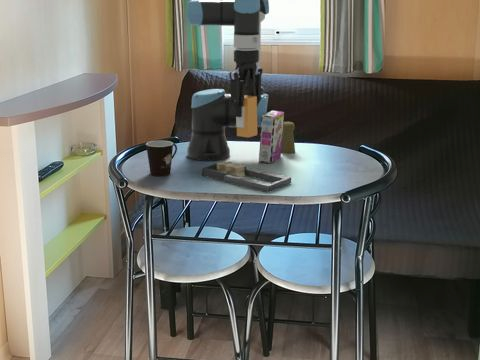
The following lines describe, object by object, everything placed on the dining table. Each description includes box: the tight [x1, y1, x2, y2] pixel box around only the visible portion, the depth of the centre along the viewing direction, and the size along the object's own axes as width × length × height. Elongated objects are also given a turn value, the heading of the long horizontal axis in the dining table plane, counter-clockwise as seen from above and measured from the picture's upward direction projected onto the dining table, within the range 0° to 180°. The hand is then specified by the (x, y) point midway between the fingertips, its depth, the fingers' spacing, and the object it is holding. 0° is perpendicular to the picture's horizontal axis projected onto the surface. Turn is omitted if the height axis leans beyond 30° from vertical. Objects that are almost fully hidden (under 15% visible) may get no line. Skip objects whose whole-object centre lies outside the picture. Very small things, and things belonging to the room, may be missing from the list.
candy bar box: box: [258, 110, 285, 164], centre depth 234 cm, size 11×5×16 cm, turn 159°
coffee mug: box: [145, 140, 178, 177], centre depth 217 cm, size 12×9×10 cm
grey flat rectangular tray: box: [223, 167, 292, 193], centre depth 209 cm, size 17×12×2 cm
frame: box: [201, 160, 248, 182], centre depth 217 cm, size 10×11×2 cm
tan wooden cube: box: [227, 162, 245, 178], centre depth 214 cm, size 4×4×4 cm
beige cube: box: [217, 160, 235, 173], centre depth 217 cm, size 4×4×4 cm
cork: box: [281, 121, 296, 155], centre depth 246 cm, size 6×6×11 cm
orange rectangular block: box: [236, 95, 258, 138], centre depth 207 cm, size 4×4×12 cm
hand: (245, 125), depth 208 cm, fingers closed on orange rectangular block, 4 cm apart
